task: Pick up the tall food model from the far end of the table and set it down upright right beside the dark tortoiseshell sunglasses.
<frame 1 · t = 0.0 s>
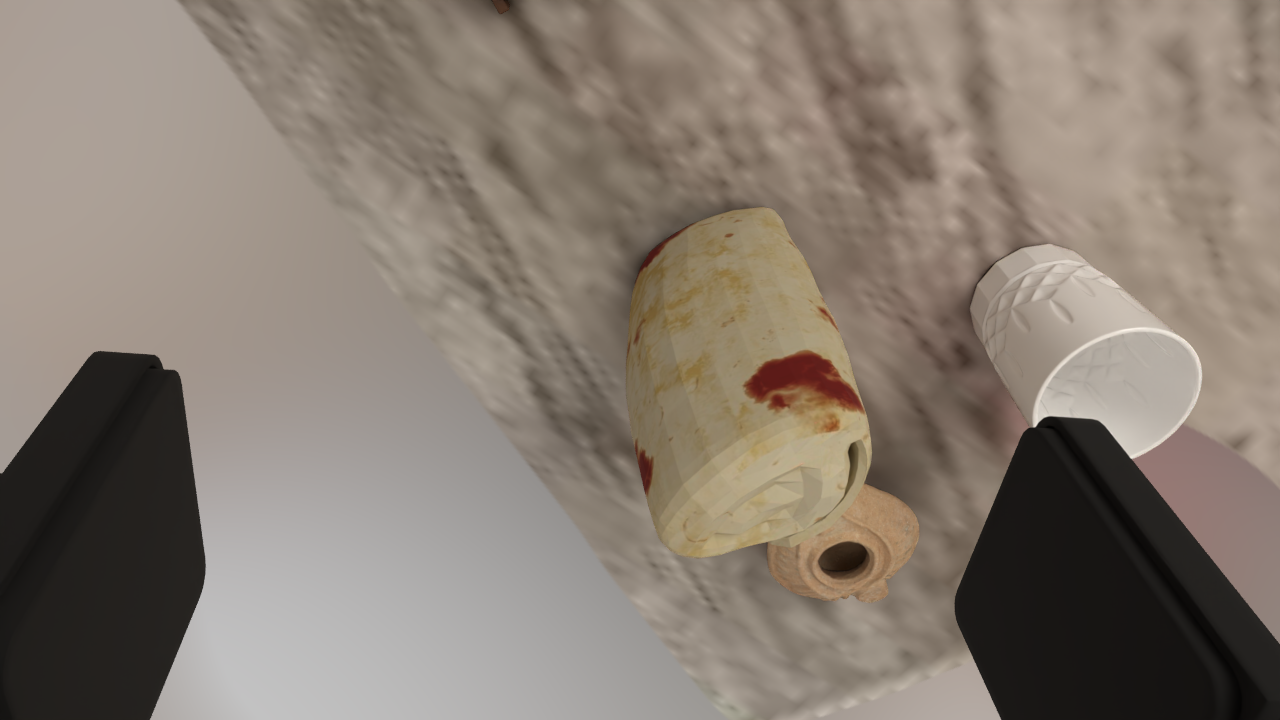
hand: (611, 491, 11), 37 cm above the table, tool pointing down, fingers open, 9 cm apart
white cup: (1028, 296, 54), on the table
pottery oil lamp: (822, 487, 61), on the table
food model: (699, 257, 52), on the table
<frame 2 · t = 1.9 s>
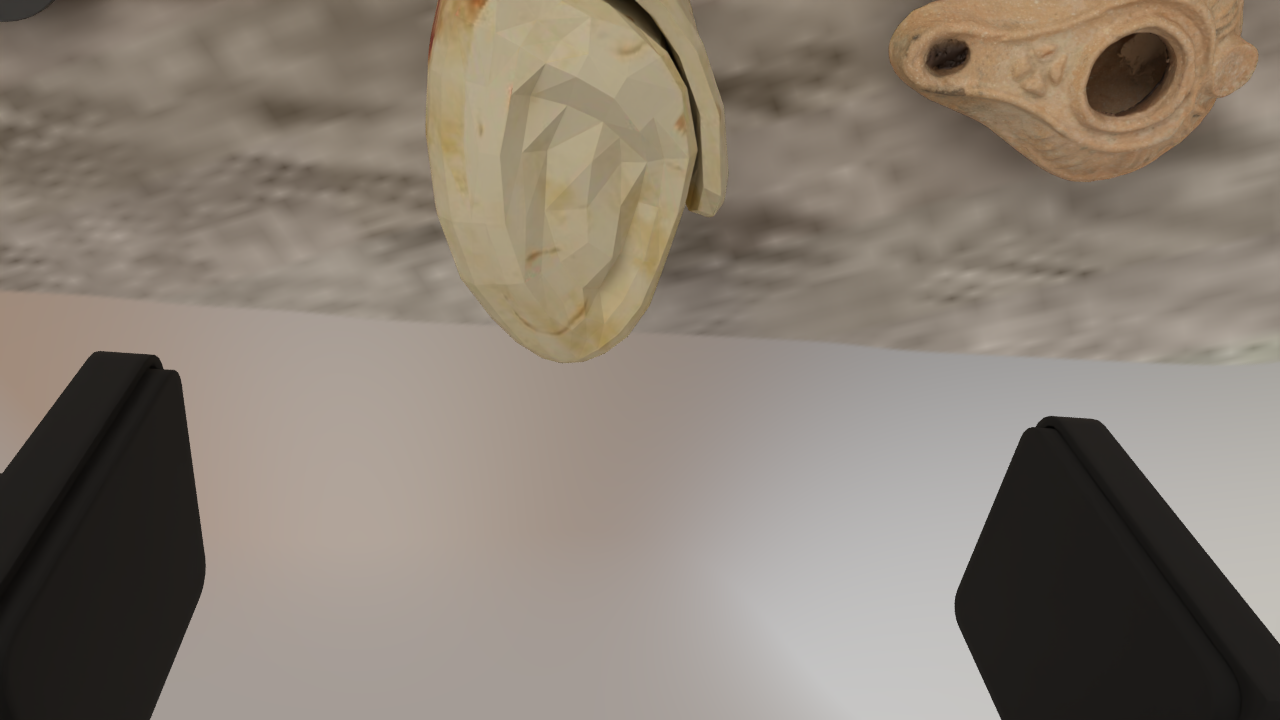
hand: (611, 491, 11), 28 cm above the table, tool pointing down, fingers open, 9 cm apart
pottery oil lamp: (1034, 24, 37), on the table
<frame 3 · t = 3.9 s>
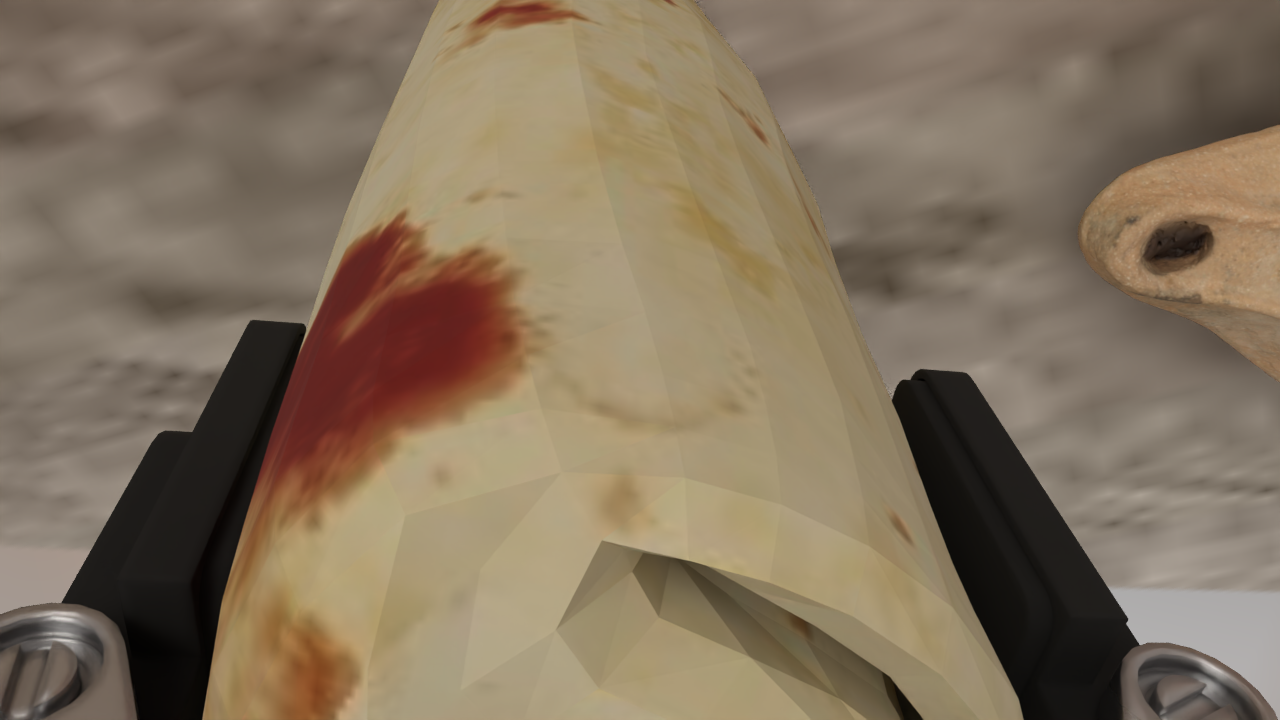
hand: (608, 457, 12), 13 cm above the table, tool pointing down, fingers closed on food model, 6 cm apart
pottery oil lamp: (1274, 173, 25), on the table
food model: (577, 98, 23), on the table, touching gripper
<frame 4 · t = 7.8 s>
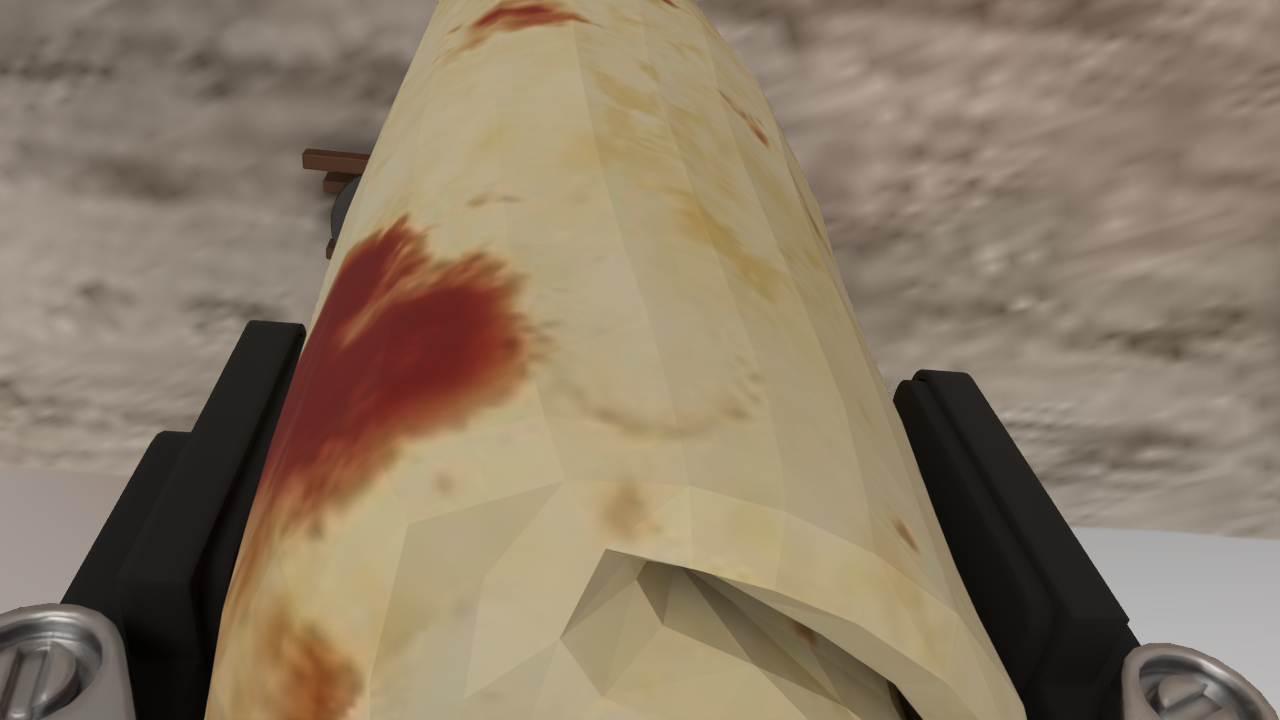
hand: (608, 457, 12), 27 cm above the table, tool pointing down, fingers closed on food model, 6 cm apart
sunglasses: (495, 226, 39), on the table
food model: (576, 99, 23), point 14 cm above the table, touching gripper
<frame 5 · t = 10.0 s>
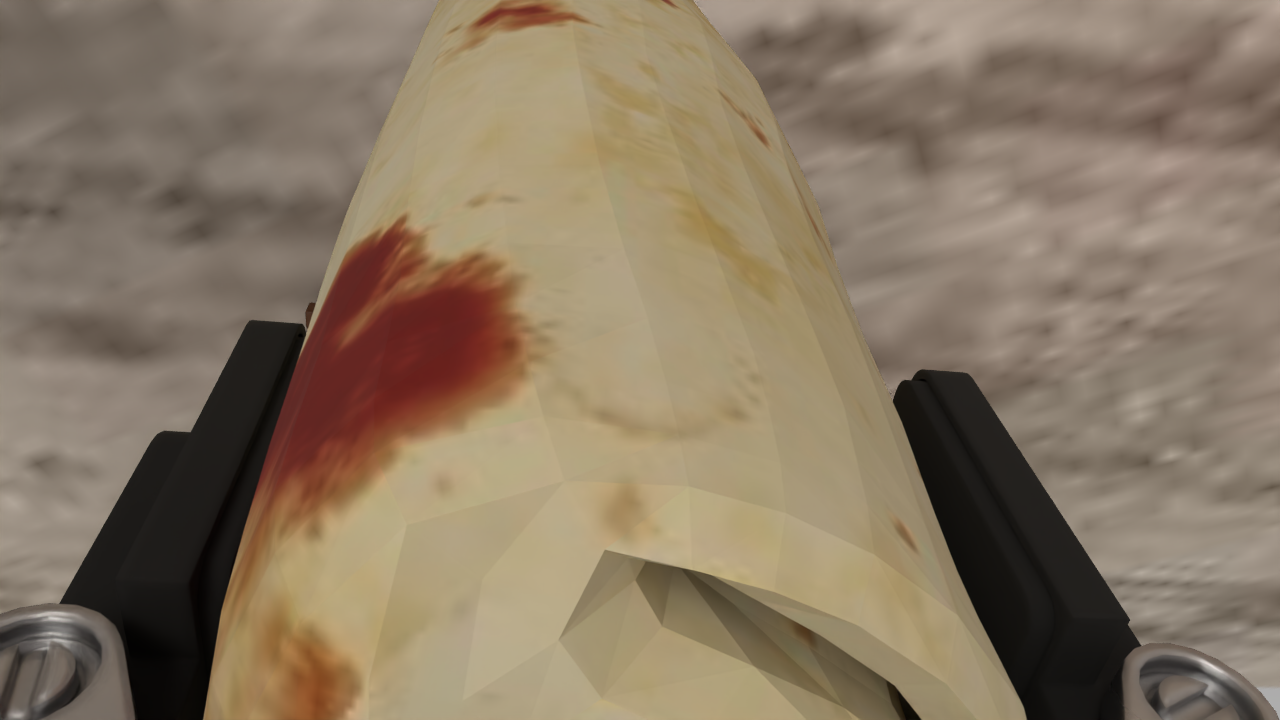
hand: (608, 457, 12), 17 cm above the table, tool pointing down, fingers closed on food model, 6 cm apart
food model: (576, 100, 23), point 4 cm above the table, touching gripper
when the fingers open (13 cm above the table, at t = 11.5 s): food model stays where it is, on the table.
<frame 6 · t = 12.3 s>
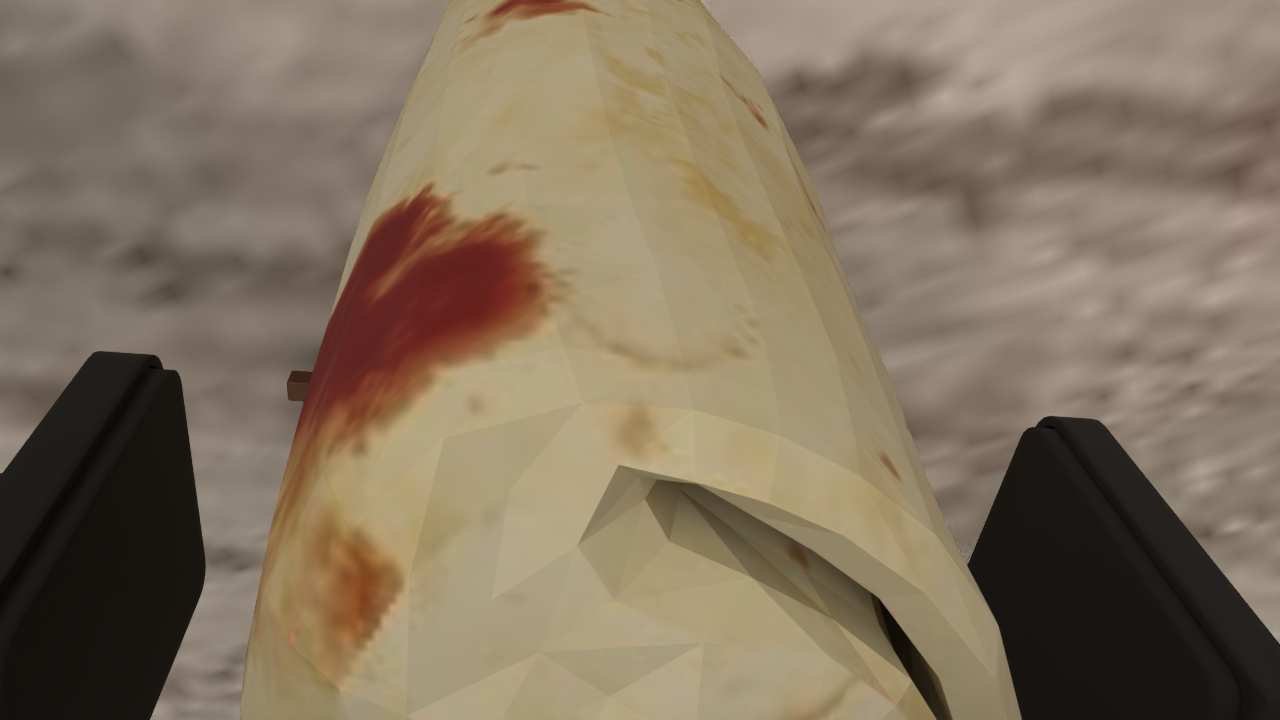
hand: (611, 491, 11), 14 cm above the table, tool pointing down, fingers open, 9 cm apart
sunglasses: (550, 452, 29), on the table
food model: (582, 96, 23), on the table
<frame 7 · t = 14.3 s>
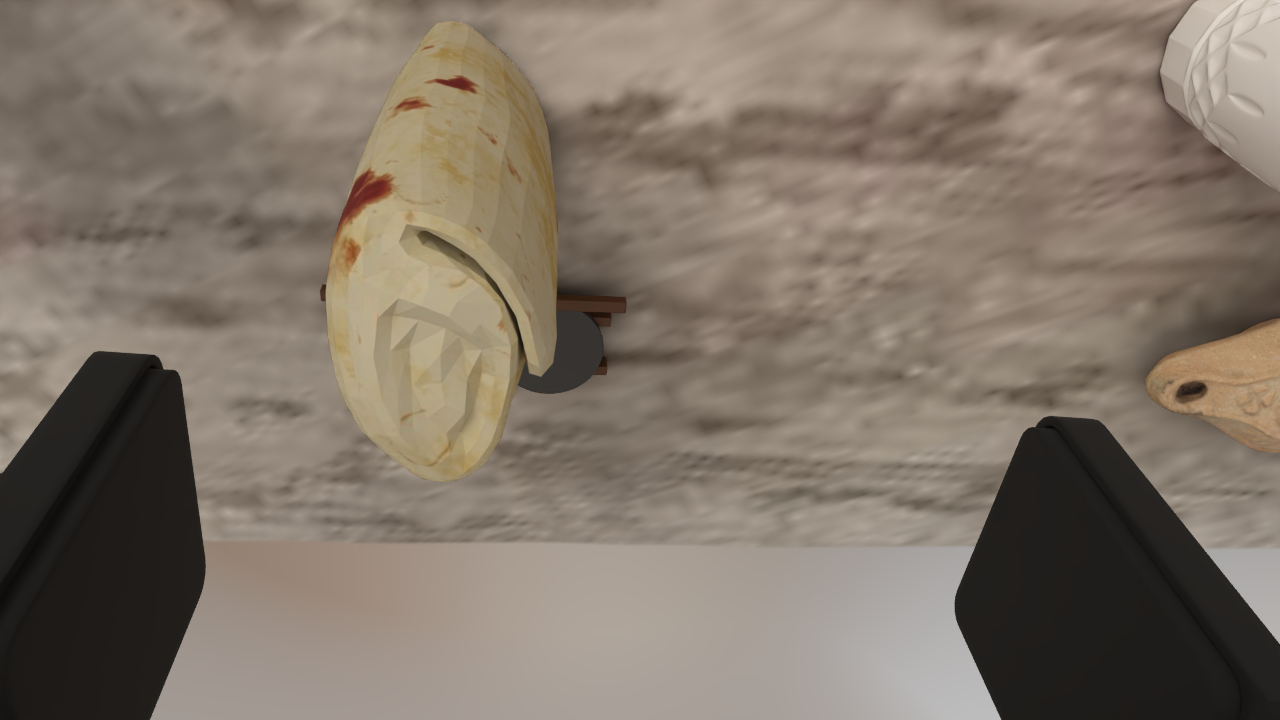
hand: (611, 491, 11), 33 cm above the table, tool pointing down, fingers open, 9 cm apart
white cup: (1231, 49, 44), on the table
pottery oil lamp: (1237, 343, 52), on the table
sunglasses: (477, 333, 48), on the table
food model: (476, 122, 43), on the table
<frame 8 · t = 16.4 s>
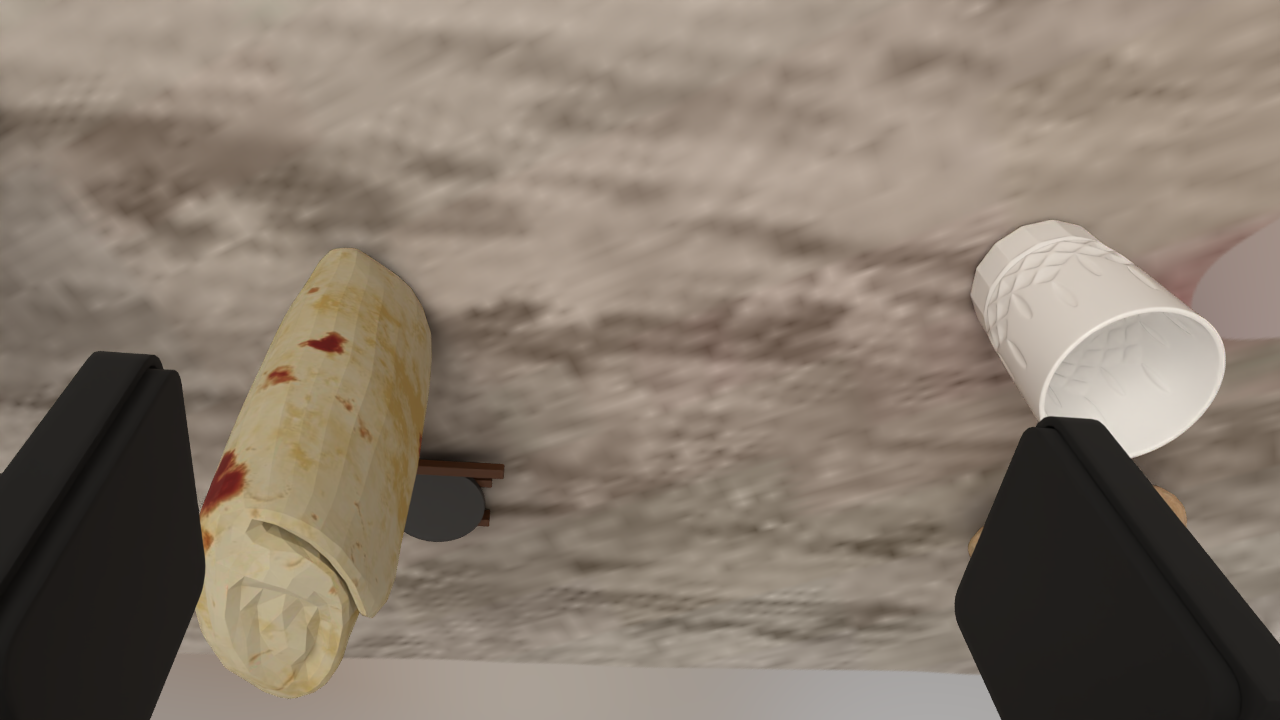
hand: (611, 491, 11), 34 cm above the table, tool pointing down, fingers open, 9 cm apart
white cup: (1033, 277, 50), on the table
pottery oil lamp: (1057, 508, 59), on the table
sunglasses: (373, 487, 54), on the table
food model: (370, 320, 49), on the table
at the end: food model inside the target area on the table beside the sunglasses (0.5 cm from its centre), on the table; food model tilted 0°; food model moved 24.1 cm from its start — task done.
